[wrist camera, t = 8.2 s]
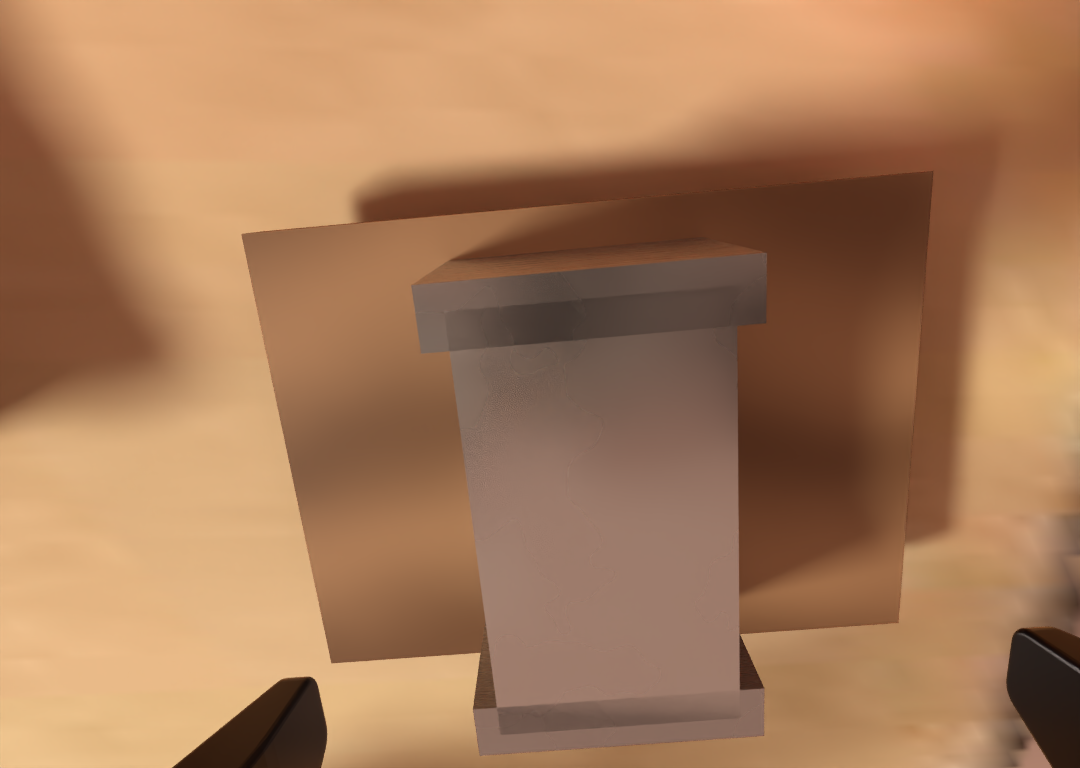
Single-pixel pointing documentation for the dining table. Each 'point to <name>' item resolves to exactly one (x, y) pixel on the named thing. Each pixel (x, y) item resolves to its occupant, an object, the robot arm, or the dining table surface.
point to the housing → (603, 487)
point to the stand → (763, 401)
